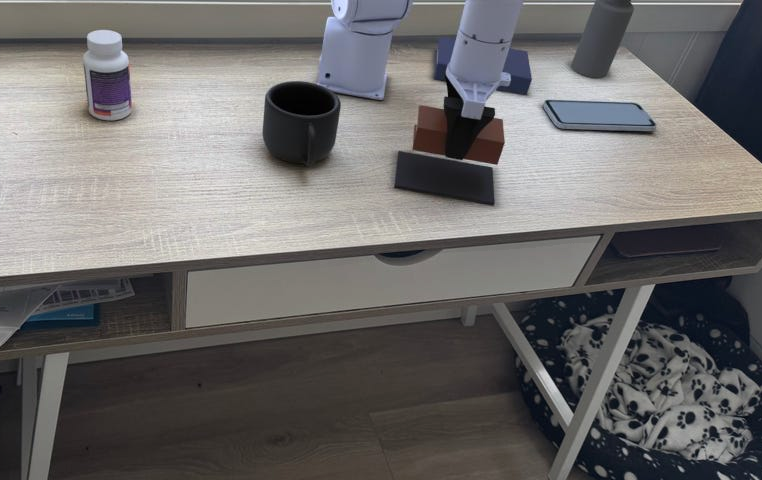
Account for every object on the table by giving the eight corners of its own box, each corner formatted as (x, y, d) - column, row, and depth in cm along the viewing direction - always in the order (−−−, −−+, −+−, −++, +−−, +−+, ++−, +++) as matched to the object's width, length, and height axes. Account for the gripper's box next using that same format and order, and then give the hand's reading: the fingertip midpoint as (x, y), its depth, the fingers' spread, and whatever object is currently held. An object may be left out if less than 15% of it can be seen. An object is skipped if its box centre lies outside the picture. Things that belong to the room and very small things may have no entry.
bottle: (578, 58, 121) (614, -37, 111) (612, 70, 119) (652, -25, 109) (565, 69, 118) (601, -28, 107) (600, 81, 115) (640, -16, 105)
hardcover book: (433, 79, 110) (437, 63, 108) (435, 51, 117) (439, 36, 116) (526, 95, 109) (532, 79, 108) (522, 66, 117) (527, 51, 115)
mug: (256, 131, 93) (260, 79, 89) (325, 131, 95) (332, 80, 90) (270, 185, 85) (275, 131, 80) (345, 184, 87) (354, 131, 82)
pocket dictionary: (411, 150, 85) (417, 127, 83) (414, 127, 89) (419, 104, 87) (497, 165, 85) (504, 142, 83) (495, 141, 89) (502, 119, 87)
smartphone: (541, 99, 107) (638, 102, 109) (539, 105, 108) (635, 108, 110) (558, 124, 102) (659, 127, 104) (556, 130, 102) (657, 133, 104)
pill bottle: (140, 113, 94) (137, 39, 87) (105, 126, 91) (98, 50, 84) (115, 96, 96) (109, 23, 89) (79, 108, 93) (71, 33, 86)
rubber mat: (394, 187, 88) (394, 185, 87) (398, 153, 93) (398, 150, 93) (494, 205, 87) (494, 202, 87) (491, 169, 93) (492, 167, 93)
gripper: (528, 67, 72) (489, 183, 81) (519, 12, 83) (486, 120, 92) (457, 55, 72) (426, 172, 82) (457, 2, 83) (430, 110, 92)
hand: (454, 144), depth 87 cm, fingers closed on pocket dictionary, 5 cm apart
